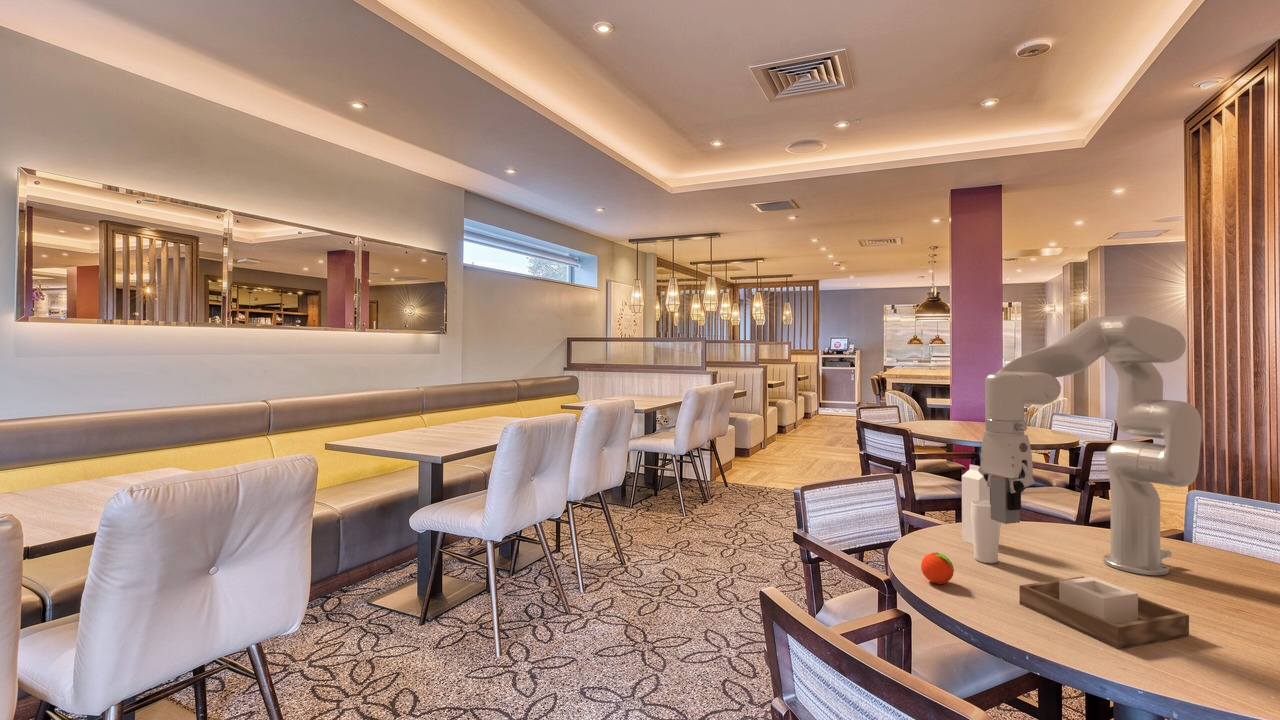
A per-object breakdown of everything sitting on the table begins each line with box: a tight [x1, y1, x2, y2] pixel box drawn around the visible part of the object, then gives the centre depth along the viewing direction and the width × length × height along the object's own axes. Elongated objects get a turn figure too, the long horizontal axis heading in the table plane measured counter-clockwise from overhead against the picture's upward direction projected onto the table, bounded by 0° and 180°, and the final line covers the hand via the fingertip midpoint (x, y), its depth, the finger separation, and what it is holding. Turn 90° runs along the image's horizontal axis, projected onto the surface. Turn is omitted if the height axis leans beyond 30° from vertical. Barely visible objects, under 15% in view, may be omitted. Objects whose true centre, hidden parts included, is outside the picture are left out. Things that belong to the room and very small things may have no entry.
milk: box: [961, 464, 990, 545], centre depth 164 cm, size 6×6×22 cm
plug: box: [990, 475, 1021, 525], centre depth 131 cm, size 4×4×11 cm
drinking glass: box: [971, 500, 1002, 564], centre depth 150 cm, size 7×7×15 cm
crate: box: [1018, 576, 1190, 650], centre depth 116 cm, size 18×20×4 cm
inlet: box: [1059, 576, 1139, 624], centre depth 118 cm, size 9×9×5 cm
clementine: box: [920, 552, 955, 585], centre depth 135 cm, size 8×7×7 cm
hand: (1005, 506), depth 131 cm, fingers closed on plug, 4 cm apart
